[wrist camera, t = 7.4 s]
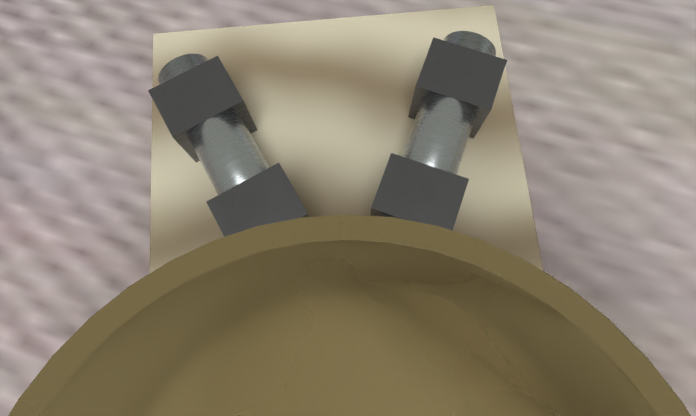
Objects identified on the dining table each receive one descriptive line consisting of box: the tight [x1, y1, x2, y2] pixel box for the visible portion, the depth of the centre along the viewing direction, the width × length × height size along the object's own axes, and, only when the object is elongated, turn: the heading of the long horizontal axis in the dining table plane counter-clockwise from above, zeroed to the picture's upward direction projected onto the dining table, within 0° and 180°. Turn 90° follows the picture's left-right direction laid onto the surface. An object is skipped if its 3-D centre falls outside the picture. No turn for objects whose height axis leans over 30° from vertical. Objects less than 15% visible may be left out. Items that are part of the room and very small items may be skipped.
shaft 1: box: [148, 54, 309, 237], centre depth 21 cm, size 10×3×3 cm, turn 30°
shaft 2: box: [370, 31, 507, 231], centre depth 21 cm, size 10×3×3 cm, turn 160°
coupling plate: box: [150, 5, 543, 273], centre depth 21 cm, size 22×17×2 cm
